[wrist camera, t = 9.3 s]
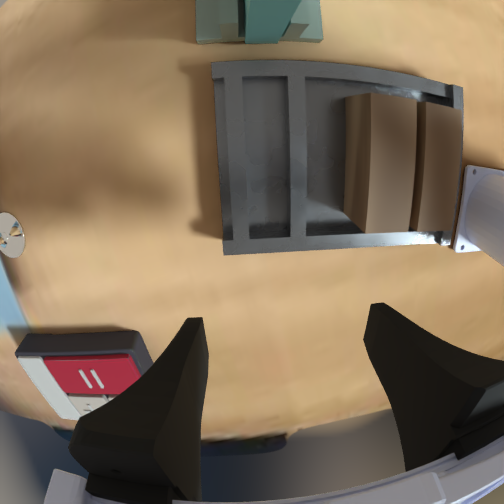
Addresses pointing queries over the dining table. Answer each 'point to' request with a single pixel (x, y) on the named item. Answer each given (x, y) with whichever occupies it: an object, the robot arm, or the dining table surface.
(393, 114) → the offcut
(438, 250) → the dining table surface
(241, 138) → the rack
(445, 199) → the offcut
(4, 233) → the wineglass
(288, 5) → the teal flat block
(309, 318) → the dining table surface
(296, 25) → the stand
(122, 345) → the black red box
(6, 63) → the dining table surface
